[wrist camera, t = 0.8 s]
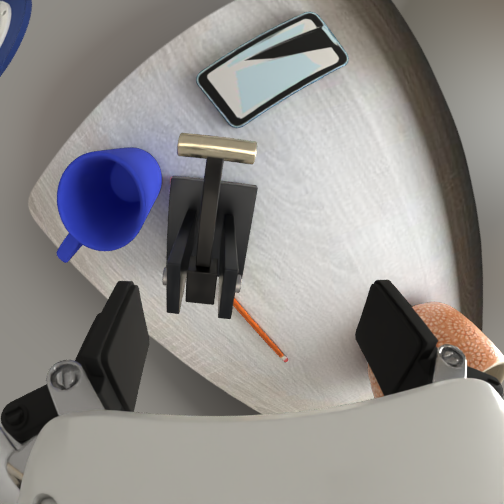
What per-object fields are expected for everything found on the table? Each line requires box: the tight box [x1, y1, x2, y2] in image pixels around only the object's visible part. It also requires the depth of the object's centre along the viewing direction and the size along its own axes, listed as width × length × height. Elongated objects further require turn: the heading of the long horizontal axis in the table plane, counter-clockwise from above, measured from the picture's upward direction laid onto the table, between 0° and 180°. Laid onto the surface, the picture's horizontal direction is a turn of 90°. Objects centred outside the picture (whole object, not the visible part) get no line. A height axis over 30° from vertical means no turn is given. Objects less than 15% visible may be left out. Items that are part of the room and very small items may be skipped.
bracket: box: [163, 176, 258, 319], centre depth 26 cm, size 11×9×13 cm
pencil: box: [233, 298, 288, 362], centre depth 38 cm, size 1×18×1 cm, turn 32°
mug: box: [57, 148, 162, 263], centre depth 24 cm, size 8×12×10 cm
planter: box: [368, 302, 504, 398], centre depth 35 cm, size 21×21×19 cm
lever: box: [177, 133, 257, 305], centre depth 20 cm, size 12×5×2 cm, turn 171°
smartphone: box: [196, 12, 348, 128], centre depth 24 cm, size 7×1×15 cm
